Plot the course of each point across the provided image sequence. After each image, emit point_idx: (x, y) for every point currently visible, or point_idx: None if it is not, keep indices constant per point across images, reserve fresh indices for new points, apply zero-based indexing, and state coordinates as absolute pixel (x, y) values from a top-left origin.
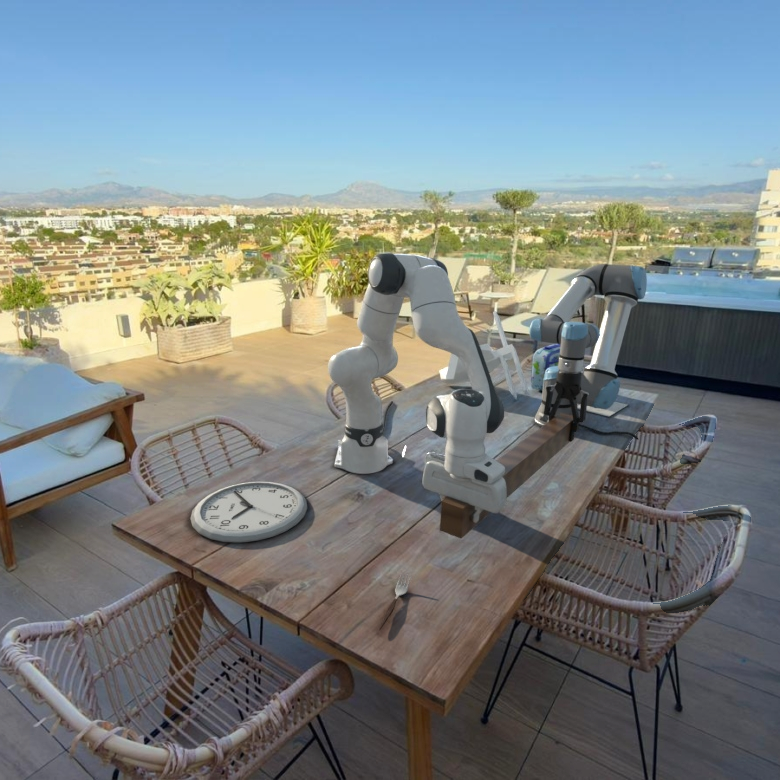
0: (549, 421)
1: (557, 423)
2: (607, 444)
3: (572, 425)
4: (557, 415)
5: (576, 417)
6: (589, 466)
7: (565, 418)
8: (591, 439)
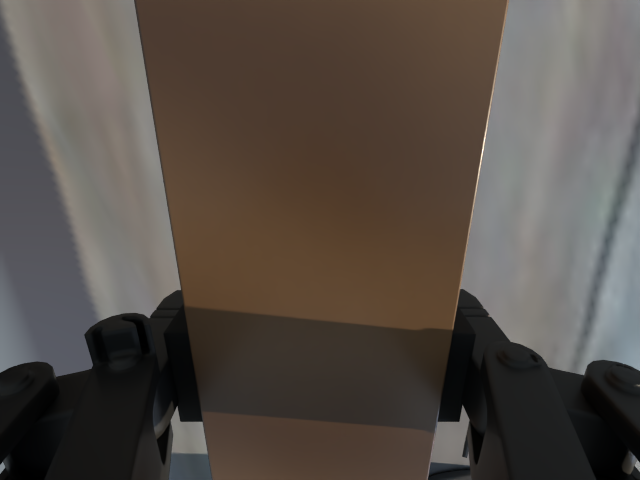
0: (481, 121)
1: (319, 108)
2: (197, 466)
3: (184, 314)
4: (430, 438)
5: (72, 416)
6: (139, 193)
7: (301, 401)
8: None
